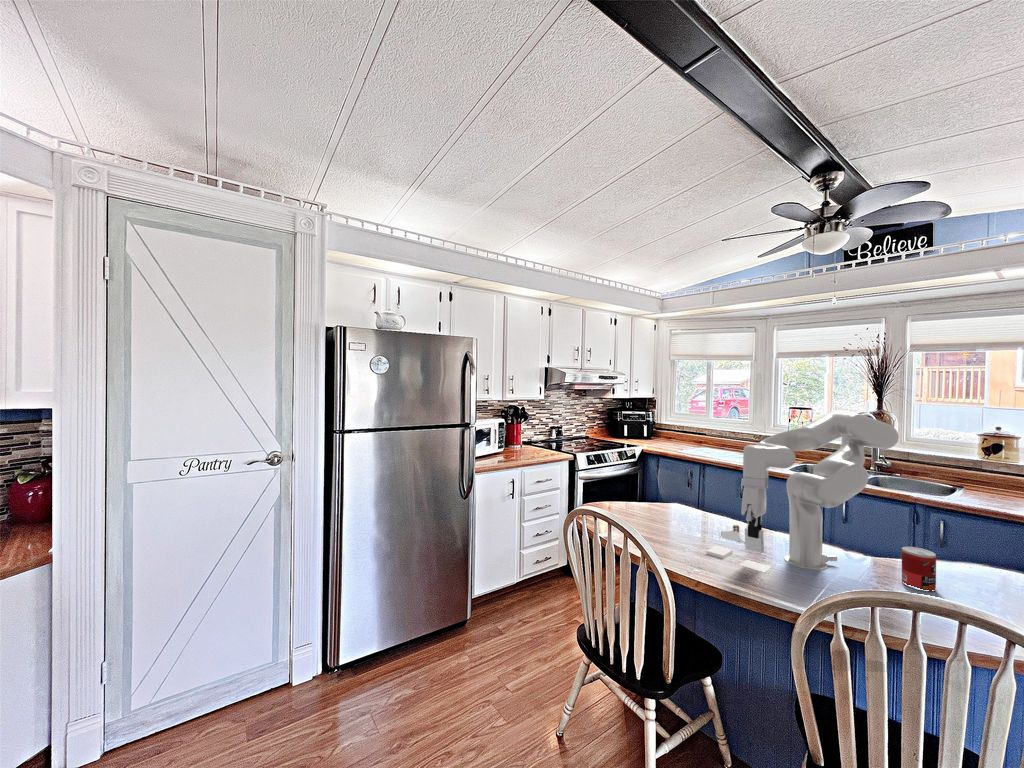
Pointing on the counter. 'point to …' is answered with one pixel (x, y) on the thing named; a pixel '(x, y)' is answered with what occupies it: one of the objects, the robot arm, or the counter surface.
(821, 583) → the counter surface
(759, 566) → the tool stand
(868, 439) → the robot arm
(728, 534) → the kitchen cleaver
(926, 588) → the canned food
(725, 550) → the tile
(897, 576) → the counter surface
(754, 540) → the steel turner
